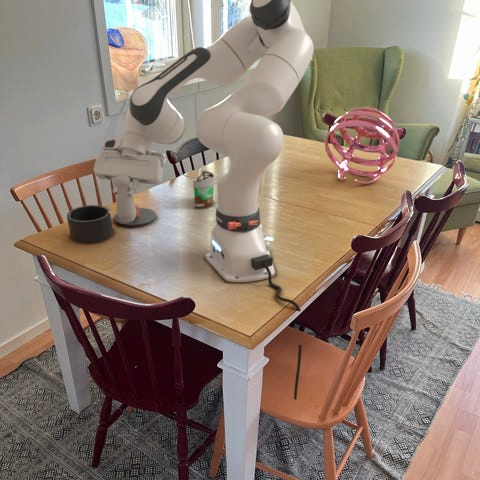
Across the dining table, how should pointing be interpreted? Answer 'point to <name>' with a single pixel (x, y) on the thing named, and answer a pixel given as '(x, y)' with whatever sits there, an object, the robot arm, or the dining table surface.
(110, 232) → the canister
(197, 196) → the food container
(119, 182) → the salt shaker
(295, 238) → the dining table surface
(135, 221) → the canister lid
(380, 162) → the pink ring sphere sculpture
